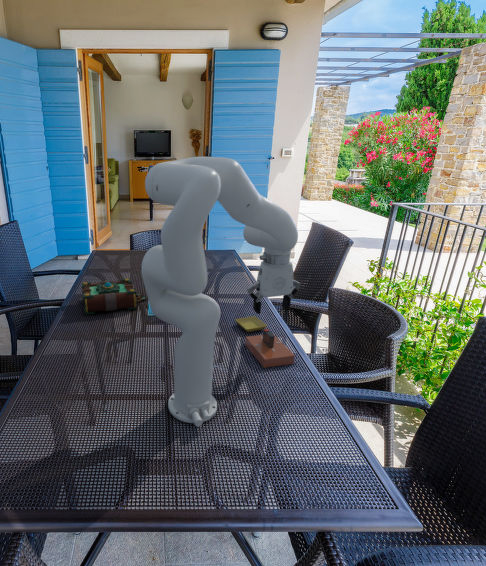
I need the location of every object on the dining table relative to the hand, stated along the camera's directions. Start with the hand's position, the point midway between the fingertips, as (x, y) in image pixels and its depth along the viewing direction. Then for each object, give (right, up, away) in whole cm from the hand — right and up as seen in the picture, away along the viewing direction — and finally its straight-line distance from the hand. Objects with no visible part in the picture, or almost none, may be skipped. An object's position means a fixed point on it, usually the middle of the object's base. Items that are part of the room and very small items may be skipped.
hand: (271, 310), depth 117 cm
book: (-54, 0, +41) cm, 68 cm away
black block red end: (0, -11, +4) cm, 12 cm away
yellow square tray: (-2, -8, +21) cm, 23 cm away
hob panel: (0, -14, +4) cm, 15 cm away
